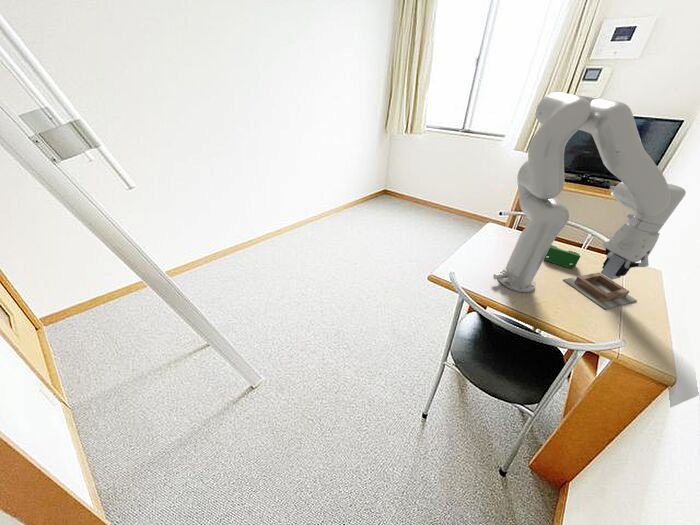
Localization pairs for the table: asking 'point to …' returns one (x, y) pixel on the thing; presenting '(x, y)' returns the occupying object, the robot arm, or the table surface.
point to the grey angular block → (613, 266)
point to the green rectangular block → (562, 257)
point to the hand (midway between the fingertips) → (612, 271)
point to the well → (601, 290)
